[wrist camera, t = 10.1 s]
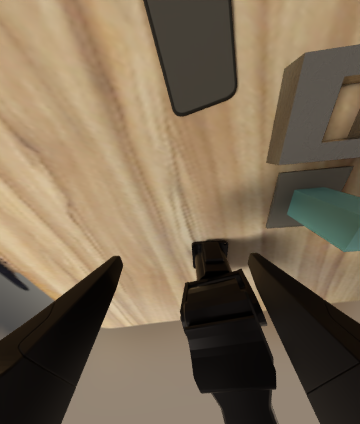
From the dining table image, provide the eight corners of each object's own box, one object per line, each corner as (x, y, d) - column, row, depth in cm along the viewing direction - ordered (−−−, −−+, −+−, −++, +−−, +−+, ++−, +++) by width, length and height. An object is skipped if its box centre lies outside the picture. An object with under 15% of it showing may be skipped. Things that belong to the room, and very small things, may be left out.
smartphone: (174, 119, 15) (101, -154, 8) (174, 120, 16) (108, -126, 9) (239, 94, 14) (216, -247, 7) (236, 97, 15) (213, -206, 8)
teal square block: (314, 212, 20) (387, 249, 13) (286, 214, 20) (343, 251, 13) (324, 187, 18) (417, 213, 11) (294, 189, 18) (365, 217, 11)
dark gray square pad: (322, 223, 21) (324, 224, 21) (265, 227, 22) (267, 228, 21) (350, 166, 17) (353, 166, 17) (279, 172, 18) (281, 173, 17)
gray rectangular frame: (373, 152, 16) (403, 152, 14) (266, 162, 17) (278, 165, 15) (428, 47, 12) (484, 24, 10) (284, 68, 13) (305, 52, 11)
